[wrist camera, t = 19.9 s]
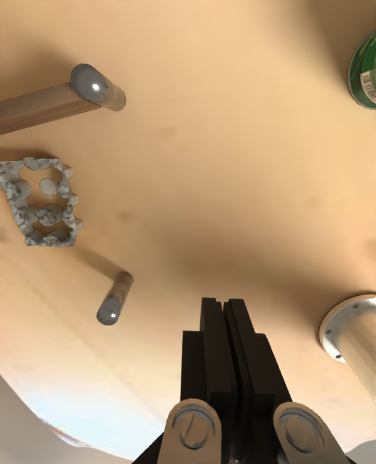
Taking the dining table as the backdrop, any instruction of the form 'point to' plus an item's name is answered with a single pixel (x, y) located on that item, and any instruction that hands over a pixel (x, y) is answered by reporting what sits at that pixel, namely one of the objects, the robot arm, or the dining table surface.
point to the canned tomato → (364, 73)
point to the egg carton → (48, 216)
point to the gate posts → (113, 98)
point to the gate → (42, 107)
